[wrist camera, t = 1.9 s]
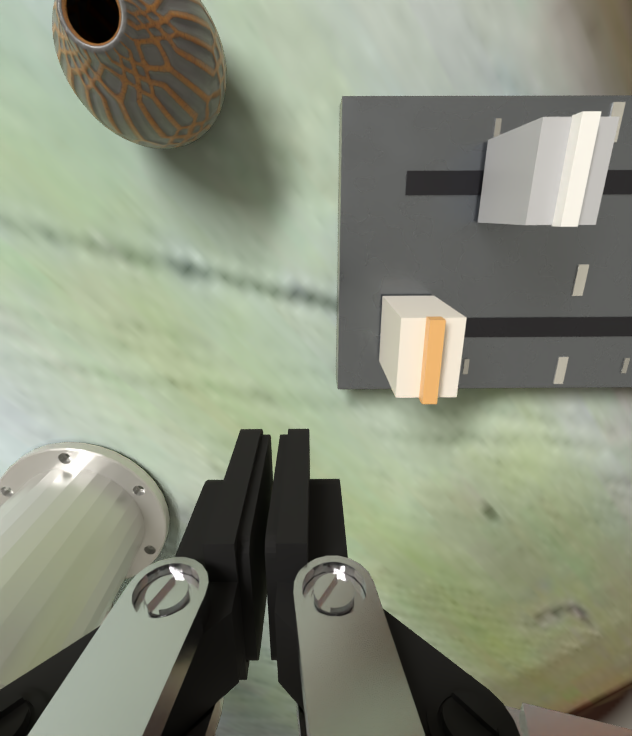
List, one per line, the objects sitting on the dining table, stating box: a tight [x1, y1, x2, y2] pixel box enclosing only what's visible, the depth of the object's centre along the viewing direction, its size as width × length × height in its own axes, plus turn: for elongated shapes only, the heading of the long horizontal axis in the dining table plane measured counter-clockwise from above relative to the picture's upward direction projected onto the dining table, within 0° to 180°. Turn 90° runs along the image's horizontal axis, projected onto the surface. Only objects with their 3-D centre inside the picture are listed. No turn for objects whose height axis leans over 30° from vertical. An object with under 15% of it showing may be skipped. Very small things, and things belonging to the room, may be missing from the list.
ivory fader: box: [379, 296, 467, 404], centre depth 22 cm, size 4×3×6 cm
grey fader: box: [478, 111, 619, 227], centre depth 19 cm, size 4×3×6 cm
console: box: [336, 96, 632, 389], centre depth 24 cm, size 16×24×2 cm, turn 90°
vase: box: [52, 0, 227, 149], centre depth 18 cm, size 7×7×9 cm
